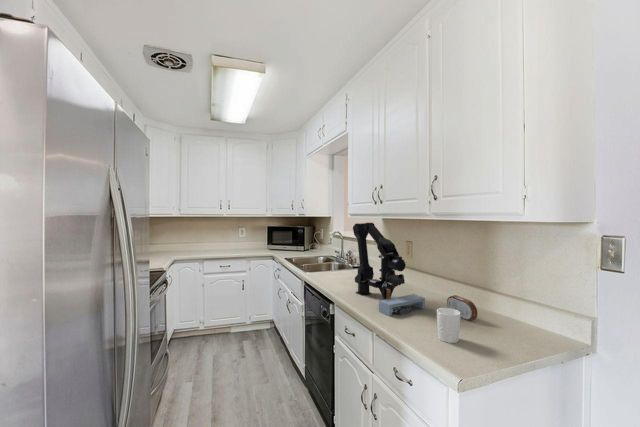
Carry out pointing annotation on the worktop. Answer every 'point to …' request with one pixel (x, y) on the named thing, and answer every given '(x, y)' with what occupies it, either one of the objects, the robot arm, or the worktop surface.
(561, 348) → the worktop surface
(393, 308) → the puck
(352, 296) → the worktop surface
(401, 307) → the hook tool
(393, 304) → the bench
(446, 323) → the white cup
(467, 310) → the tin
